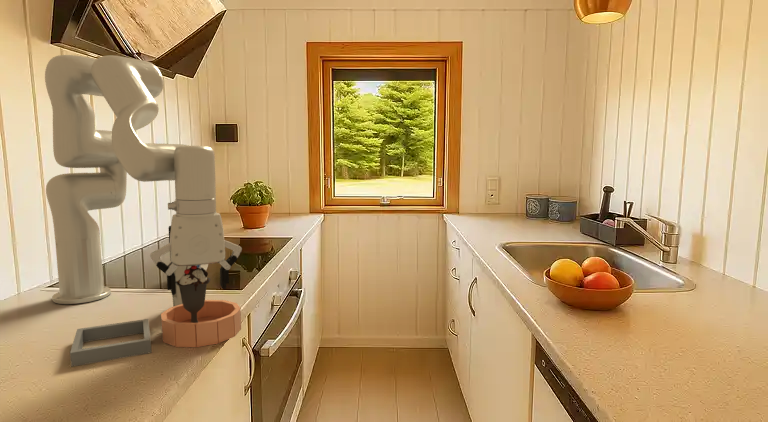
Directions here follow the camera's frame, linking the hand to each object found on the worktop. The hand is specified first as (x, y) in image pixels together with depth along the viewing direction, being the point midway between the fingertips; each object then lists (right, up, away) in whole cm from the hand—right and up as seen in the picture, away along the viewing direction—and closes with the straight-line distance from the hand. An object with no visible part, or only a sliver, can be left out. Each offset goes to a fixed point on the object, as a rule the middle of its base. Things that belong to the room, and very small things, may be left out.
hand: (198, 290), depth 97 cm
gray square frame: (-14, -10, -7) cm, 18 cm away
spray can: (-9, -7, +16) cm, 20 cm away
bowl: (0, -9, +1) cm, 9 cm away
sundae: (-1, -8, 0) cm, 8 cm away
